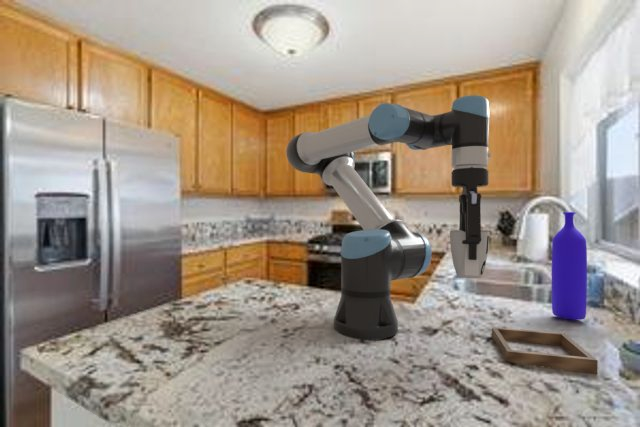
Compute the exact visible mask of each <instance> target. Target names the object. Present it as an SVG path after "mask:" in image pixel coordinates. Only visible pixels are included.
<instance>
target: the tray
mask: <svg viewBox="0 0 640 427" xmlns="http://www.w3.org/2000/svg"><path fill="white" fill-rule="evenodd" d="M491 337H492V339H493V341H494V342H495V344H496V345H497V347H498V349H499V350H500V352H501V353H503V354H502V356H504V359H505V360H506V361H509V362H508V363H514V362H515V364H520V363H523V364H522V365H527V364H529V366H534V365H536V366H535V367H540V366H544V367H543V368H547V367H550V368H549V369H554V368H556V369H555V370H560V369H562V371H567V370H569V371H568V372H578V373H586V374H587V373H588V374H596V375H598V360H597V358H595V356H593V355H592V354H591V353H589V352H588V351H587V350H586V349H584V348H583V347H582V346H581V345H580V344H578V343H577V342H576V341H575V340H573V339H572V338H571V337H569V336H568V335H567V334H566V332H553V331H542V330H529V329H517V328H506V327H494V326H492V327H491ZM507 340H508V341H514V342H522V343H530V344H540V345H541V344H542V345H553V346H561V347H562V348H563V349H564V350H565V351H566V352H568V353H569V354H570V355H567V354H556V353H549V352H548V353H546V352H536V351H535V352H534V351H528V350H527V351H526V350H515V349H512V348H511V346H510V345H509V344H508V342H507Z"/></svg>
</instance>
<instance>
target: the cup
mask: <svg viewBox="0 0 640 427" xmlns="http://www.w3.org/2000/svg"><path fill="white" fill-rule="evenodd" d="M449 238H450V239H449V240H450V241H449V243H450V251H451V259H452V262H453V263H452V264H453V267H454V271H455V274H456V276H457V277H459V278H462V279H463V278H464V279H481V278H482V277H483V274H484V271H485V268H486V266H487V265H486V264H487V259H488V255H489V254H488V253H489V246H490V231H488V230H487V231H486V230H481V242H480V243H479V276H474V275H464V259H465V244H462V241H463V240H466V232H464V231H462V230H458V229H457V230H455V229H453V230H449Z"/></svg>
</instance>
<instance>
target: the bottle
mask: <svg viewBox="0 0 640 427" xmlns="http://www.w3.org/2000/svg"><path fill="white" fill-rule="evenodd" d="M575 214H576V211H563V212H562V215H564V224H563V227H562V228H561V229H559V231H558V232H556V234H555V235H554V236H553V238H552V245H551V247H552V248H551V310H552V311H551V312H552V314H553V316H556V317H558V318H563V319H567V320H576V321H580V320H581V321H582V320H585V319H586V316H587V304H588V303H587V302H588V300H587V297H588V296H587V295H588V292H587V291H588V249H587V241H586V239H587V238H586V237H585V236H584V235H583V234H582V233H581V231H579V230H578V229H577V228H576V227H575V224H574V217H575V216H574V215H575Z"/></svg>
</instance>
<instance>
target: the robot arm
mask: <svg viewBox="0 0 640 427" xmlns="http://www.w3.org/2000/svg"><path fill="white" fill-rule="evenodd" d="M489 107H490V106H489V100H488V99H487V98H486V97H484V96H482V95H479V94H478V95H477V94H476V95H473V94H471V95H463V96H460V97H458V98H456V99H454V100H453V102H452V104H451V111H446V112H444V113H438V114H435V115H434V114H433V115H432V114H431V115H430V114H428V113H424V112H421V111H418V110H414V109H411V108H408V107H405V106H402V105H400V104H396V103H389V102H382V103H380V104H378V105H377V106H376V107H375V108H374V109H373V110H372V111H371V113H370V115H366V116H363V117H360V118H356V119H353V120H350V121H347V122H345V123H341V124H339V125H335V126H332V127H329V128H326V129H322V130H319V131H316V132H312V131H305V132H302V133H299V134H297V135H295V136H293V137H292V138H291V139H290V140H289V142H288V143H287V146H286V150H285V151H286V158H287V161H288V163H289V165H290V166H292V168H293V169H295V170H297V171H298V172H301V173H308V174H313V175H315V174H317V175H318V176H319V177H320V179H321V180H322V181H323V183H324V184H326V185H327V186H332V187H333V189H334V190H335V192H336V193H337V195H338V196H339V197H340V199H341V200H342V201H343V203H344V204H345V205H346V207H347V209H348V210H349V211H350V213H351V215H353V217H354V218H355V220H356V221H357V223H358V224H359V225H360V227H361V228H362V230H357V231H356V230H355V231H351V232H349V233H346V234H344V236H343V237H342V238H341V249H340V256H341V257H340V262H341V263H340V266H341V268H340V271H341V273H340V274H341V276H340V277H341V279H340V280H341V281H340V282H341V289H340V291H341V292H340V293H341V295H340V297H339V301H338V302H339V303H338V305H337V308H336V311H335V315H334V317H333V329H334V331H336V332H337V333H338V334H340V335H342V336H345V337H348V338H351V339H352V338H353V339H360V340H381V339H387V338H390V337H393V336H395V335H396V334H397V333H399V332H398V331H399V321H398V318H397V315H396V314H397V313H396V311H395V309H394V304H393V302H392V301H393V300H392V299H391V281H398V280H405V279H411V278H412V279H413V278H414V277H416V276H419V275H422V274H423V273H425V272H426V271H427V269H429V266H430V265H431V261H432V252H433V251H432V246H431V244H430V241H429V240H428V238H427V237H426V236H425V235H423V234H421V233H419V232H412V230H410V228H409V227H408V225H407V224H406V223H405V222H404V221H403V220H401V219H394V217H393V216H392V214H390V213H389V211H388V210H387V209H386V208H385V206H384V205H383V203H382V202H381V201H380V200H379V198H378V197H377V196H376V194H375V193H374V192H373V191H372V190H371V188H370V187H369V186H368V185H367V183H366V182H365V180H363V179H362V177H361V176H360V174H359V173H358V172H357V171H356V170H355V166H356V164H355V158H354V157H355V154H354V152H358V151H363V150H367V149H371V148H376V147H379V146H384V145H385V146H386V145H389V144H395V143H402V144H405V145H406V146H407V147H408V148H409V149H410V150H413V151H419V150H423V151H425V150H429V149H433V148H434V149H435V148H439V147H445V146H451V158H450V159H451V160H450V161H451V162H450V164H451V168H453V170H452V171H451V186H452V187H453V188H462V189H461V191H462V192H461V194H459V195H458V201H459V227H458V228H459V230H462V231H464V232H466V240H463V241H462V244H465V259H464V275H474V276H479V243H480V242H481V231H482V229H481V228H482V227H481V226H482V225H481V221H482V220H481V218H482V217H481V214H482V213H481V203H482V202H481V199H482V194H481V193H478V188H480V187H481V188H482V187H487V186H488V185H489V170H488V168H486V167H488V166H489V158H491V157H492V153H491V152H489V136H490V135H489V130H490V119H491V117H490V108H489Z"/></svg>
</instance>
